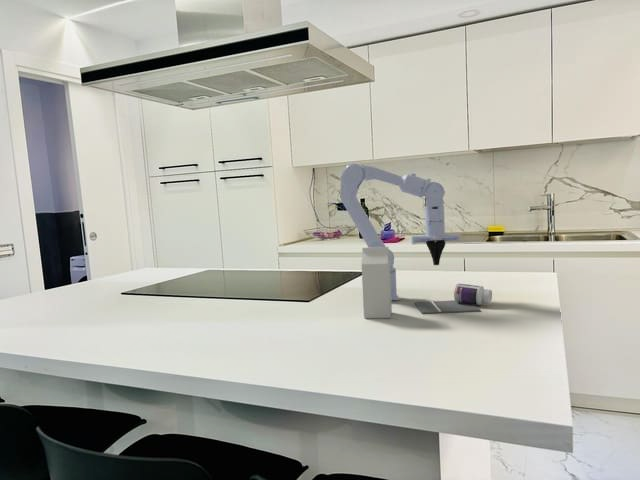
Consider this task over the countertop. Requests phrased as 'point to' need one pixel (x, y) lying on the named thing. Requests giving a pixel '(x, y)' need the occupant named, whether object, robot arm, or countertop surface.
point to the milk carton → (376, 282)
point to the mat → (445, 307)
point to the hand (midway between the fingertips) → (436, 264)
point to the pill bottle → (472, 294)
